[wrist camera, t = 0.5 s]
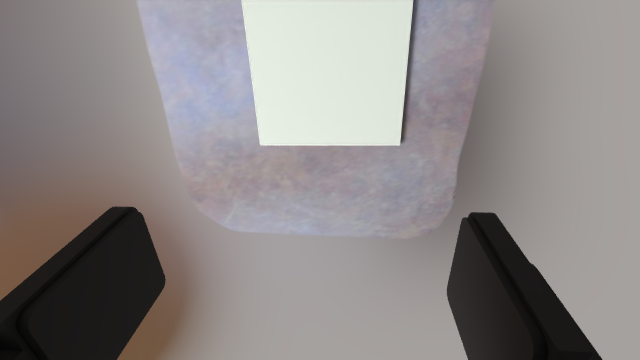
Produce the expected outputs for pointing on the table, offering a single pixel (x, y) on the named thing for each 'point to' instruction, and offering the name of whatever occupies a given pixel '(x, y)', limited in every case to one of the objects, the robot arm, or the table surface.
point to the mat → (328, 70)
